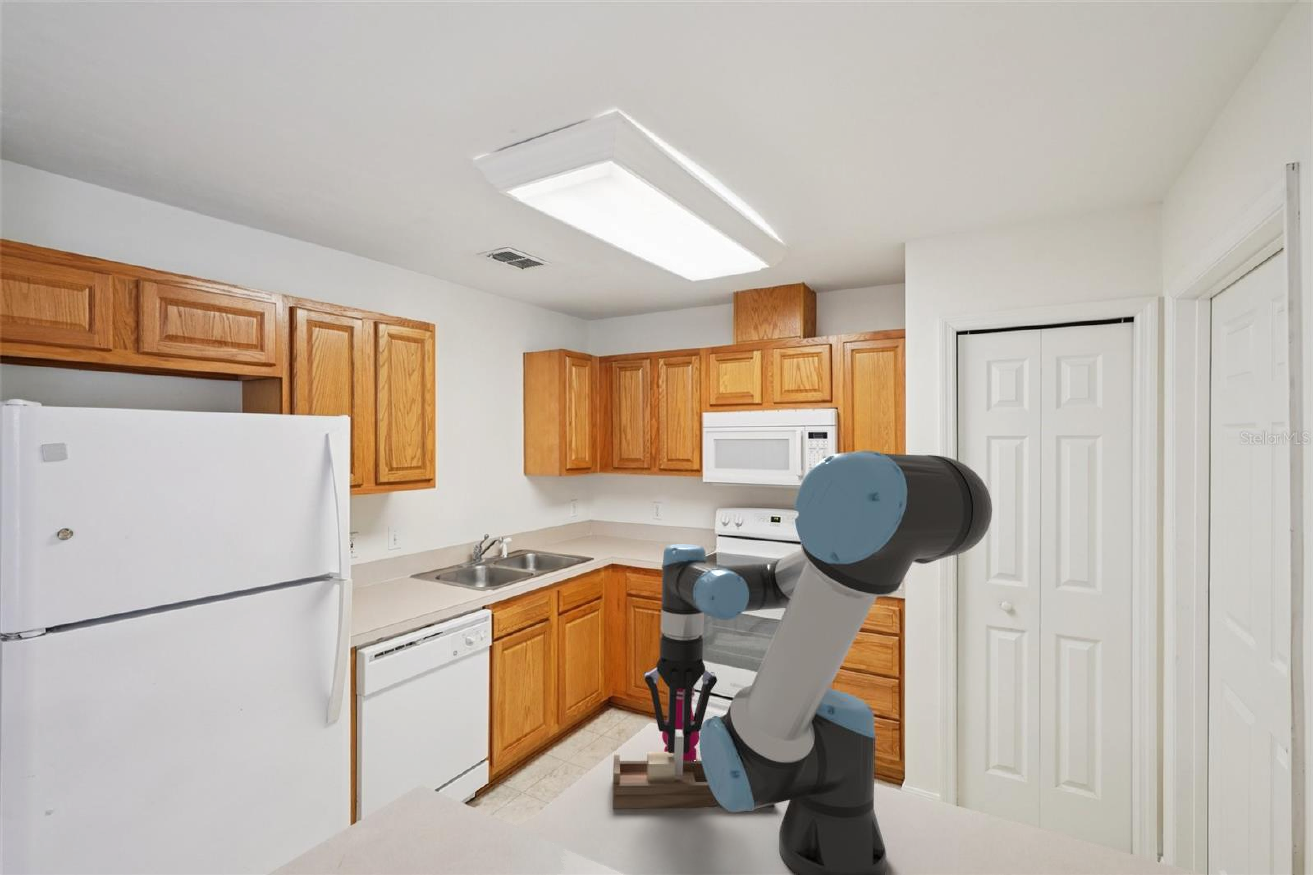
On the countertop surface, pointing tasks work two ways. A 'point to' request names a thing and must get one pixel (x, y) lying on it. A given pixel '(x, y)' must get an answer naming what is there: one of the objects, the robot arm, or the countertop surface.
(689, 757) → the pepper mill
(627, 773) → the channel
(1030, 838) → the countertop surface
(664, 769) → the birch block
